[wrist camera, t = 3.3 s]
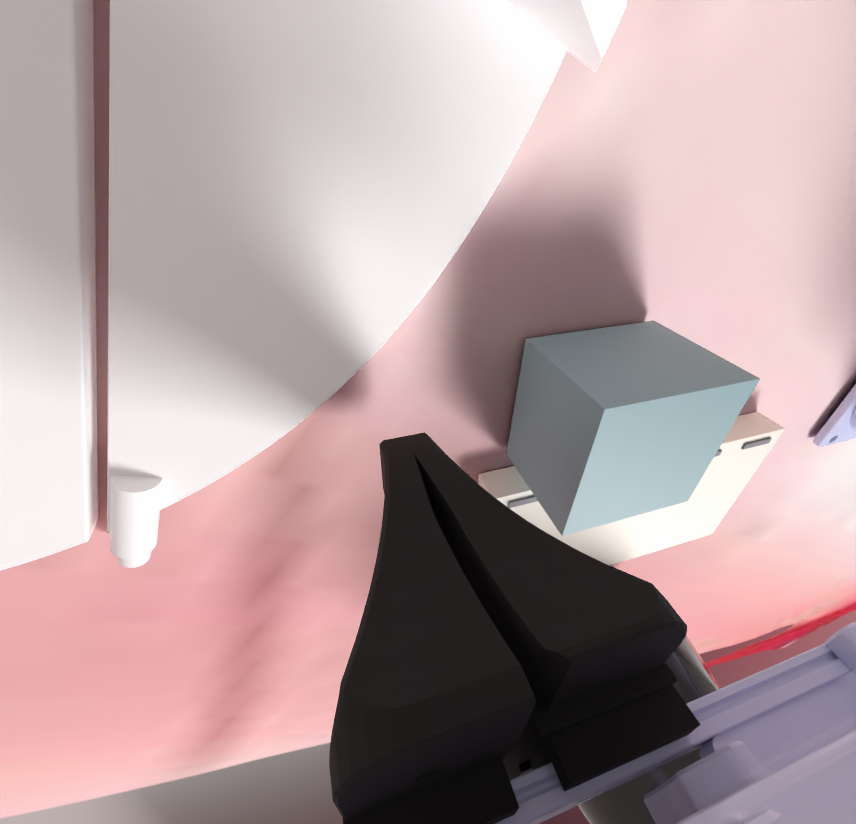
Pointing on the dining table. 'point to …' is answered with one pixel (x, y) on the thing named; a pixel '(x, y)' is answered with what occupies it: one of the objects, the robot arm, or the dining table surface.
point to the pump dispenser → (624, 805)
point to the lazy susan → (233, 223)
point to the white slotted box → (663, 525)
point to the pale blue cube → (619, 420)
